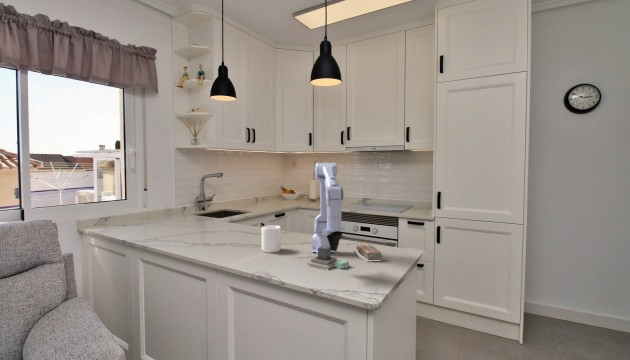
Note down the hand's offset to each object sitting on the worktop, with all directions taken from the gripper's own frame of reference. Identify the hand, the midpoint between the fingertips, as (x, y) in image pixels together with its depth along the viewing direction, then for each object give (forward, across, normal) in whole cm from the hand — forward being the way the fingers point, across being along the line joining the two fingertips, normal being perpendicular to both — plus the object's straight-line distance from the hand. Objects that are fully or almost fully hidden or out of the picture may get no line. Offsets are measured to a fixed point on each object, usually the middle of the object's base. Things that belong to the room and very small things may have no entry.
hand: (333, 250), depth 122 cm
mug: (+9, +9, +42) cm, 44 cm away
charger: (+8, +6, +8) cm, 12 cm away
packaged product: (+9, +28, -3) cm, 30 cm away
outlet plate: (+9, +6, +8) cm, 13 cm away
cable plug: (+9, +7, 0) cm, 11 cm away
